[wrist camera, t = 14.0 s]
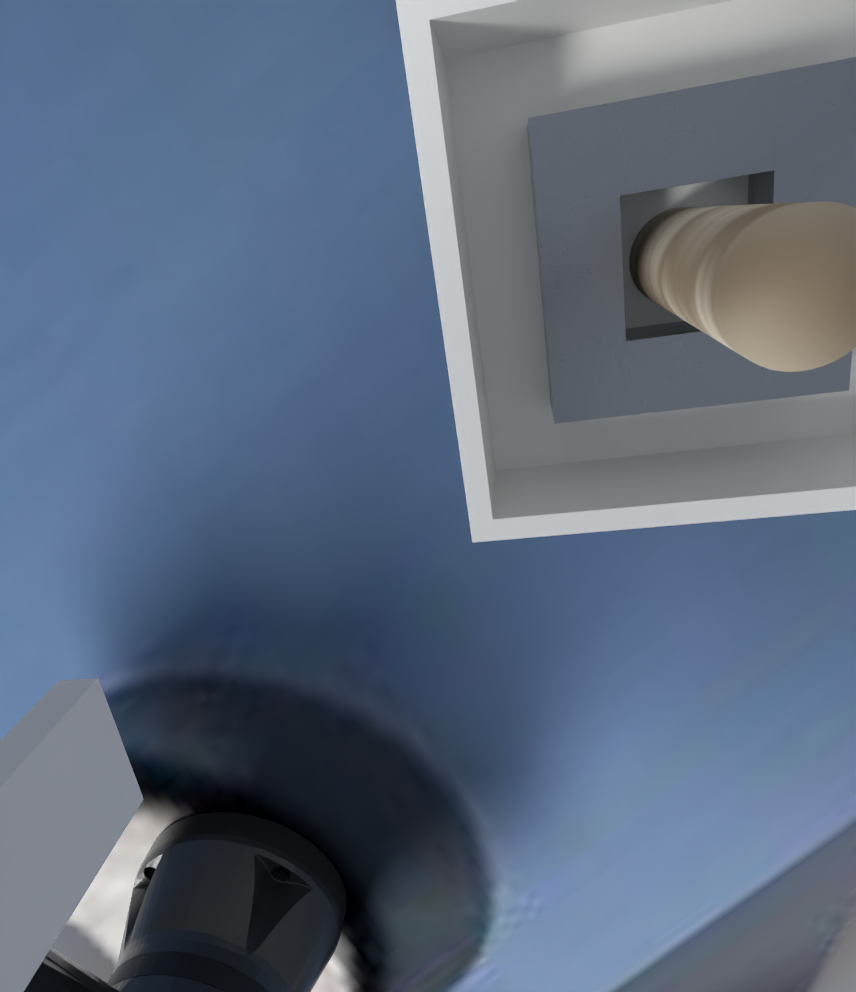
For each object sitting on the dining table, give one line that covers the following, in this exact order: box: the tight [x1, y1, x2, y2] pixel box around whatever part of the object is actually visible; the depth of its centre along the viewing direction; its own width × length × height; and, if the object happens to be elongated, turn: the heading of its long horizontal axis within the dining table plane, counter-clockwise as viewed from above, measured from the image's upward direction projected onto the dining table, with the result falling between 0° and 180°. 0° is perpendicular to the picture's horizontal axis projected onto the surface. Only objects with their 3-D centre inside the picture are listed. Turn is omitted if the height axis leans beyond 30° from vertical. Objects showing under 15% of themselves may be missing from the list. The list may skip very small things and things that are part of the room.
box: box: [396, 0, 856, 543], centre depth 27 cm, size 20×20×7 cm
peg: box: [629, 202, 856, 372], centre depth 23 cm, size 4×4×14 cm
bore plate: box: [527, 57, 856, 424], centre depth 28 cm, size 12×12×3 cm
